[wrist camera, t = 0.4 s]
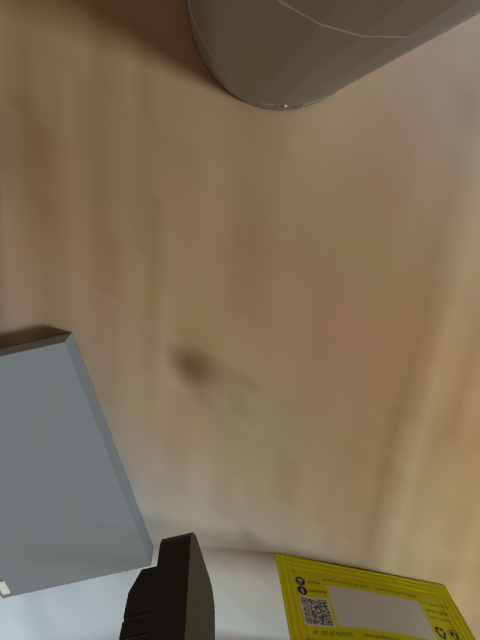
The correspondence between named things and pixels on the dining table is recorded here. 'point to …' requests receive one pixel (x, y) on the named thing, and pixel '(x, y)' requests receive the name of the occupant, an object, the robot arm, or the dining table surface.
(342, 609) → the food package
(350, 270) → the dining table surface
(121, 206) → the dining table surface
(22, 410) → the gray notebook
